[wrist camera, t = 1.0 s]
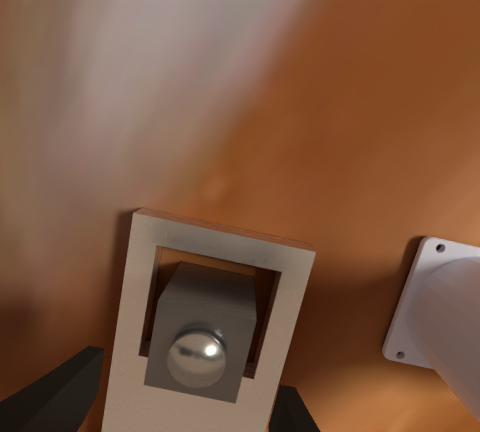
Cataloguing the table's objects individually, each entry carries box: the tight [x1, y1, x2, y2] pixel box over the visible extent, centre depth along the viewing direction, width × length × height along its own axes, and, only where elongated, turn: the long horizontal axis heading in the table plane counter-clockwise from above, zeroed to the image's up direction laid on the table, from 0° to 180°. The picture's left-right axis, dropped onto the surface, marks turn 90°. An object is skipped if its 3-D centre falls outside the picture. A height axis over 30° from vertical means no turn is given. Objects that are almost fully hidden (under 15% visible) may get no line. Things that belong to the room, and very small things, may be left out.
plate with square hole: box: [101, 208, 316, 432], centre depth 20 cm, size 10×24×2 cm, turn 168°
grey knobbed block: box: [143, 261, 257, 404], centre depth 17 cm, size 4×4×6 cm
